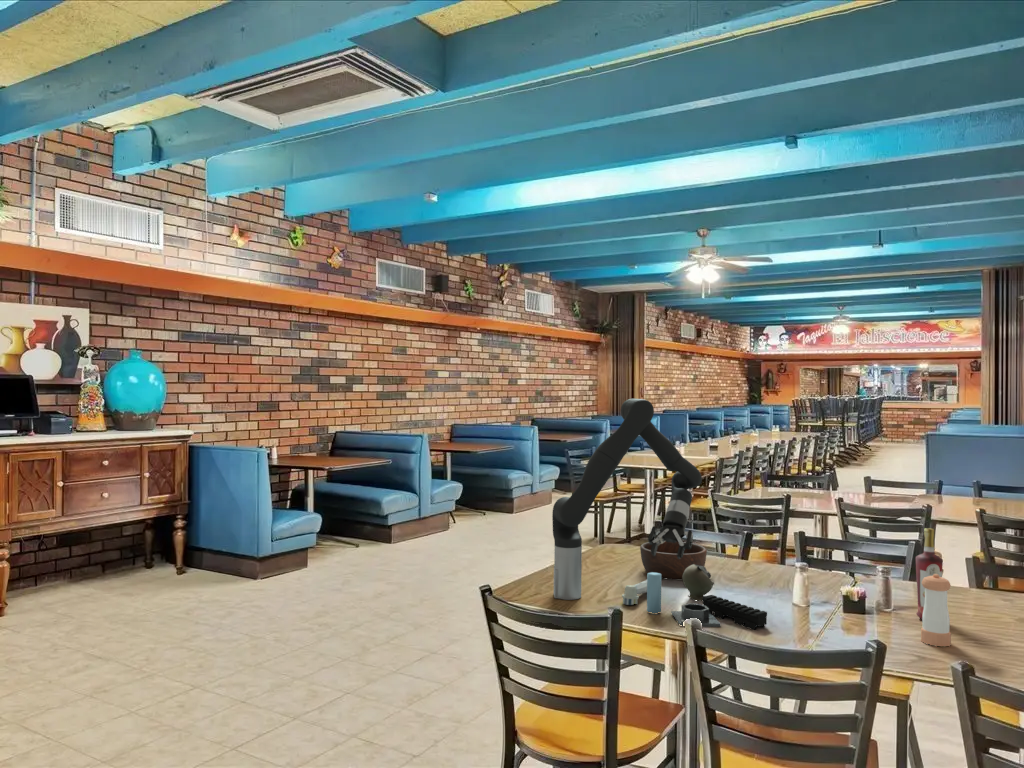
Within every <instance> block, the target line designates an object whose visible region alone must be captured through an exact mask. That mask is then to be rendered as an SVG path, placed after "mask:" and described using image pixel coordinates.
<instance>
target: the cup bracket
mask: <svg viewBox="0 0 1024 768" xmlns="http://www.w3.org/2000/svg"><path fill="white" fill-rule="evenodd" d="M671 613H672V615H673V616H674V617H675V619H676V620H677V621H678V623H679V624H680V625H682V626H683V622H684V621H685V620H686V619H690V618H697V619H699V620H700V621H701V623H702V626H703V627H702V628H704V627H705V628H707V627H708V628H721V622H720V621H719V620H718V619H717V617H715V616H713V615H712V614H711V613H710V611H709V608H708V607H707V606H705V605H703V604H700V603H686V604H682V605H681V611H679V610H671V611H670V614H671ZM672 615H671V616H672ZM673 616H672V617H673ZM674 617H673V618H674ZM675 619H674V620H675ZM676 620H675V621H676ZM678 623H677V624H678ZM679 624H678V625H679Z"/></svg>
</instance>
